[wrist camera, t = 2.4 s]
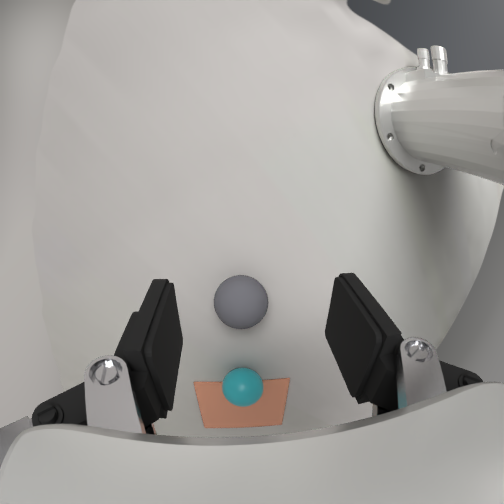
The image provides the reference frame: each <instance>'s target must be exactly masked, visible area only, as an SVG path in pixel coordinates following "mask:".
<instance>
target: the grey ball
mask: <svg viewBox="0 0 504 504" xmlns="http://www.w3.org/2000/svg"><path fill="white" fill-rule="evenodd" d="M214 307H215V311H216V313H217V315H218V317H219V318H220V320H221V321H222V322H223V323H225V324H226V325H228V326H230V327H232V328H236V329H246V328H250V327H253V326H254V325H256V324H257V323H259V322H260V321H261V320H262V319H263V317H264V316H265V314H266V311H267V308H268V297H267V293H266V291H265V289H264V287H263V286H262V285H261V284H260V283H259V282H258V281H257V280H256V279H254V278H252V277H249V276H244V275H238V276H233V277H230V278H228V279H227V280H225V281H224V282H223V283H222V284H221V285H220V286H219V287H218V289H217V291H216V293H215V297H214Z"/></svg>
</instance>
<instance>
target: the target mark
mask: <svg viewBox="0 0 504 504" xmlns="http://www.w3.org/2000/svg"><path fill="white" fill-rule="evenodd" d="M289 381H290V378H284V379H273V380H262V382H263V393H262V396H261V397H260V399H259V400H258V401H257V402H256V403H254V404H252V405H250V406H246V407H240V406H236V405H233V404H232V403H230V402H229V401H228V400H227V399H226V398H225V396H224V394H223V391H222V383H223V382H194V386H195V391H196V395H197V399H198V403H199V407H200V412H201V416H202V419H203V423H204V427H205V428H241V427H259V426H272V425H282V420H283V415H284V410H285V404H286V398H287V393H288V387H289Z"/></svg>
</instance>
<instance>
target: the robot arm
mask: <svg viewBox="0 0 504 504" xmlns="http://www.w3.org/2000/svg"><path fill="white" fill-rule="evenodd" d="M417 53H418V60H419V67H417V68H415V67H406V68H402V69H398V70H396V71H394V72H392V73H390V74H389V75H388V76H387V77H386V78H385V79H384V80H383V82H382V83H381V85H380V87H379V90H378V92H377V96H376V101H375V119H376V126H377V129H378V133H379V136H380V138H381V141H382V143H383V145H384V147H385V149H386V150H387V152H388V153H389V155H390V156H391V157H392V158H393V159H394V161H395V162H396V163H397V164H399V165H400V166H401V167H403V168H404V169H406V170H408V171H410V172H413V173H417V174H421V175H430V174H435V173H437V172H439V171H441V170H442V169H443V168H445V167H447V168H451V169H455V170H458V171H462V172H465V173H469V174H472V175H475V176H478V177H481V178H484V179H488V180H490V181H493V182H496V183H499V184H502V185H504V70H485V71H472V72H462V73H454V74H450V73H448V72H447V63H448V62H447V54H446V49H445V48H443V47H440V46H431V55H432V61H433V69H434V70H432V69H431V68H430V64H429V61H430V59H429V51H428V50H427V49H424V48H418V49H417ZM387 135H388V138H387ZM325 336H326V339H327V341H328V344H329V346H330V348H331V350H332V353H333V355H334V357H335V359H336V362H337V364H338V366H339V369H340V371H341V373H342V376H343V378H344V380H345V383H346V385H347V388H348V390H349V392H350V395H351V396H352V397H355V398H356V400H357V402H358V404H361V403H365V402H369V401H370V403H372V404H373V412H372V417H370V418H366V419H362V420H358V421H354V422H350V423H345V424H340V425H336V426H330V427H325V428H320V429H314V430H307V431H301V432H293V433H285V434H276V435H265V436H251V437H225V438H203V437H178V436H165V435H157V434H156V431H155V428H154V425H153V423H154V422H155V421H157V420H158V419H159V418H167V411H168V410H169V411H171V410H172V409H173V402H174V395H175V388H176V382H177V375H178V369H179V363H180V357H181V351H182V345H183V337H182V331H181V326H180V320H179V314H178V308H177V302H176V296H175V289H174V284H173V283H169V281H168V279H153V281H152V283H151V285H150V287H149V290H148V292H147V294H146V296H145V298H144V301H143V303H142V305H141V307H140V310H139V312H133V313H132V315H131V317H130V319H129V322H128V324H127V326H126V328H125V331H124V333H123V335H122V337H121V340H120V342H119V344H118V347H117V349H116V351H115V354H114V356H112V355H107V356H102V357H98V358H96V359H95V360H93V361H92V362H91V363H90V364H89V365H88V366H87V368H86V369H85V374H84V380H85V382H83V383H81V384H79V385H77V386H75V387H73V388H71V389H69V390H67V391H65V392H63V393H61V394H59V395H57V396H55V397H53V398H51V399H49V400H47V401H45V402H43V403H41V404H40V405H39V406H38V407H37V408H36V409H35V410H34V412H33V414H32V418H31V419H29V417H28V416H27V417H24V418H22V419H20V420H18V421H16V422H13V423H11V424H9V425H7V426H4V427H2V428H0V504H504V383H501V382H483V381H482V379H481V378H480V377H479V376H478V375H477V374H475V373H473V372H471V371H468V370H465V369H462V368H459V367H456V366H453V365H450V364H448V363H445V362H442V361H439V359H438V355H437V352H436V349H435V347H434V346H433V345H432V344H431V343H429V342H428V341H427V340H424V339H422V338H417V337H410V338H407V339H405V340H404V339H403V338H402V336H401V332H400V331H399V329H398V328H397V327H396V325H395V324H394V323H393V321H392V320H391V319H390V317H389V316H388V315H387V313H386V312H385V311H384V310H383V308H382V307H381V306H380V304H379V303H378V302H377V301H376V299H375V298H374V297H373V296H372V294H371V293H370V292H369V291H368V289H367V288H366V287H365V286H364V285H363V283H362V282H361V281H360V280H359V278H358V277H357V276H356V275H355V274H354V273H342V274H340V275H339V277H336V278H335V280H334V285H333V291H332V297H331V303H330V308H329V313H328V319H327V324H326V329H325Z"/></svg>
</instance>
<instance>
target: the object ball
mask: <svg viewBox="0 0 504 504" xmlns="http://www.w3.org/2000/svg"><path fill="white" fill-rule="evenodd" d="M222 391H223V394H224V396H225V398H226V399H227V400H228V401H229V402H230V403H232V404H233V405H236V406H240V407H246V406H250V405H252V404H254V403H256V402H257V401H258V400H259V399H260V397H261V396H262V393H263V382H262V379H261V377H260V376H259V375H258V374H257V373H256V372H255V371H253V370H251V369H248V368H237V369H234V370H232V371H230V372H229V373H228V374H227V375H226V376H225V378H224V380H223V383H222Z"/></svg>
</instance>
